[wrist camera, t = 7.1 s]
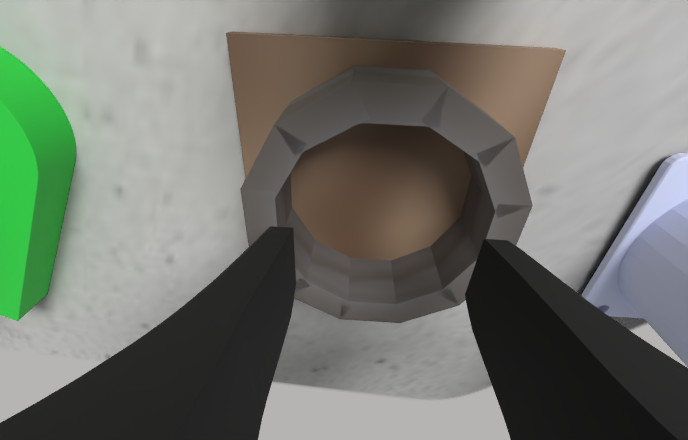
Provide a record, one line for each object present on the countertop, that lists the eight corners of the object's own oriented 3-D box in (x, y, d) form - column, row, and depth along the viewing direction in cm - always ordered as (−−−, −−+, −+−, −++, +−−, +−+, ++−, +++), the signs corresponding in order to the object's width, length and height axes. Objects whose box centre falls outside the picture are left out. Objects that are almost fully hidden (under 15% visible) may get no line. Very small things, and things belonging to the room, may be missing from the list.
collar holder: (555, 48, 10) (622, 62, 8) (472, 285, 16) (495, 340, 13) (232, 31, 10) (189, 40, 8) (262, 272, 16) (243, 324, 13)
